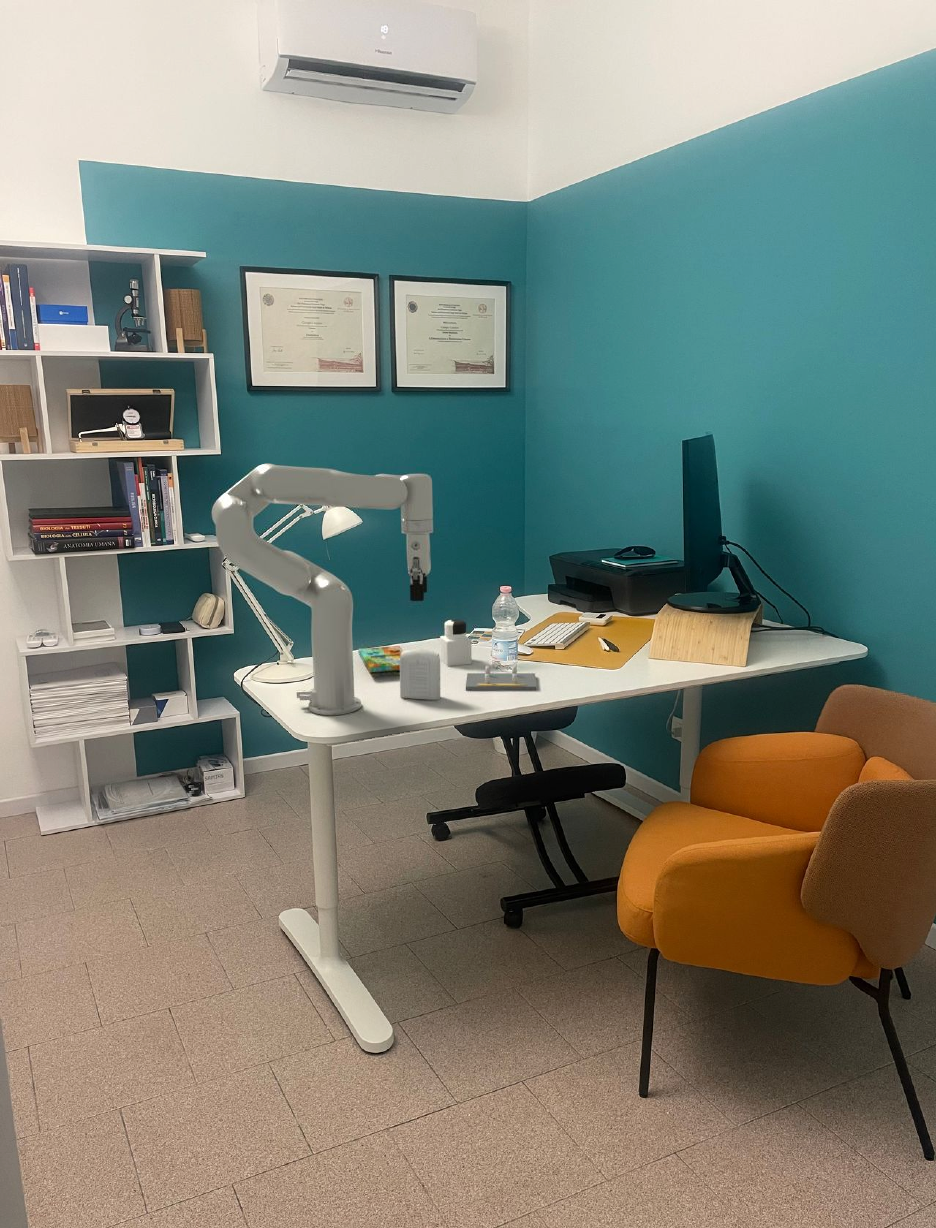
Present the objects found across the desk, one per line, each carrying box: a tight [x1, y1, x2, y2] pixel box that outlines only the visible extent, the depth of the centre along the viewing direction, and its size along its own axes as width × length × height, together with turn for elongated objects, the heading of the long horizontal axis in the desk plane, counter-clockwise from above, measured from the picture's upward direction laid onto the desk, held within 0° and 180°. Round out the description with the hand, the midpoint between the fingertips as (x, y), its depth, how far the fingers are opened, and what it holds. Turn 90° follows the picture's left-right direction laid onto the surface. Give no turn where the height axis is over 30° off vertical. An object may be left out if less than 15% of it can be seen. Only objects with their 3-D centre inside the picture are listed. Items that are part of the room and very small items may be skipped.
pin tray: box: [465, 665, 538, 691], centre depth 244 cm, size 18×12×4 cm, turn 88°
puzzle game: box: [358, 645, 404, 677], centre depth 259 cm, size 12×5×20 cm
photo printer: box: [399, 648, 441, 701], centre depth 232 cm, size 10×4×12 cm, turn 78°
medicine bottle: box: [439, 619, 473, 667], centre depth 264 cm, size 7×7×12 cm
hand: (418, 596), depth 228 cm, fingers open, 9 cm apart
